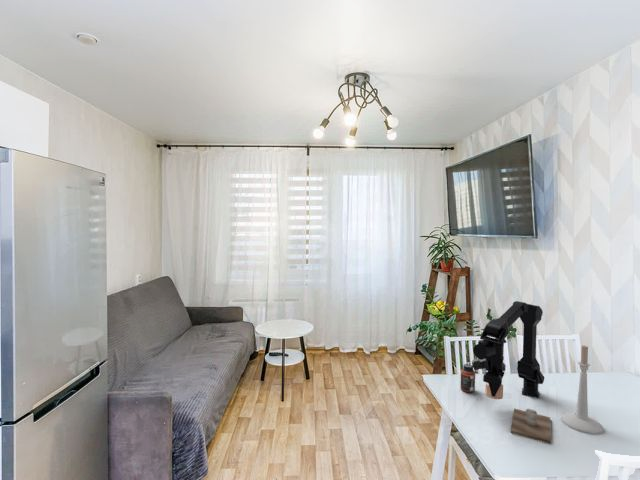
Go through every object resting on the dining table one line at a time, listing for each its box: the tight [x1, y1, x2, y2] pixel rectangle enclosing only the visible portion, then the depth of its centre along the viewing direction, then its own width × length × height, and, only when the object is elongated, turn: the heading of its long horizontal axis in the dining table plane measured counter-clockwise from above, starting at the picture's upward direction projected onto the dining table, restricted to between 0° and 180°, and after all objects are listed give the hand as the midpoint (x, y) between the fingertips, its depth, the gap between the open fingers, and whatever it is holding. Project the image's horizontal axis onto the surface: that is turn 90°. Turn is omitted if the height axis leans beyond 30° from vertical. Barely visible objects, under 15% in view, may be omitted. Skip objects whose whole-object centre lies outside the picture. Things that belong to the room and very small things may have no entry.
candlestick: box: [560, 344, 605, 435], centre depth 133 cm, size 13×13×30 cm
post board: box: [510, 408, 552, 444], centre depth 132 cm, size 18×12×6 cm, turn 148°
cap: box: [484, 382, 504, 400], centre depth 143 cm, size 6×6×4 cm
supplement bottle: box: [460, 363, 476, 394], centre depth 160 cm, size 6×6×11 cm
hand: (494, 392), depth 143 cm, fingers closed on cap, 6 cm apart
